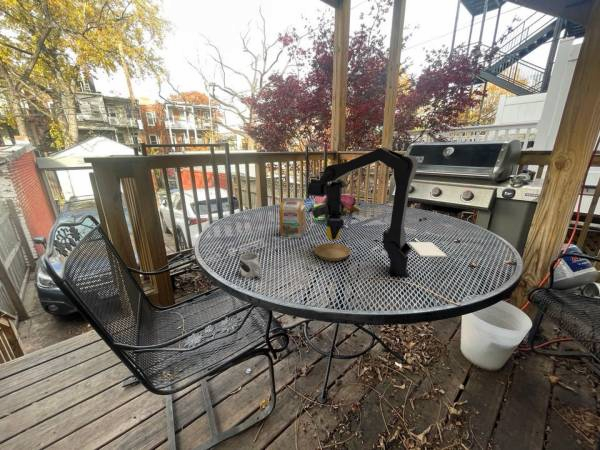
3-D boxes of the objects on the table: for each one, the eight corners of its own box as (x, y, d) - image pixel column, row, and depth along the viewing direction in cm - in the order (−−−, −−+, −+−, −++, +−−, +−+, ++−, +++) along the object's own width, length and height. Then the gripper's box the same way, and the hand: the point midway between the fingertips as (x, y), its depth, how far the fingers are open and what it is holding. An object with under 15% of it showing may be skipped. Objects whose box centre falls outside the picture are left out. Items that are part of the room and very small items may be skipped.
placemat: (446, 257, 100) (446, 255, 100) (420, 256, 101) (420, 255, 101) (431, 243, 113) (431, 242, 113) (408, 243, 114) (408, 242, 114)
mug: (237, 273, 91) (235, 256, 89) (252, 267, 95) (251, 251, 93) (253, 283, 84) (251, 265, 82) (269, 276, 88) (268, 259, 86)
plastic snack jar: (280, 237, 124) (278, 199, 118) (286, 230, 134) (285, 195, 128) (301, 239, 122) (300, 200, 116) (306, 232, 132) (305, 196, 126)
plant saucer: (308, 251, 108) (308, 246, 107) (339, 246, 113) (339, 241, 112) (324, 266, 95) (324, 260, 94) (357, 259, 100) (358, 253, 99)
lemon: (330, 237, 106) (331, 219, 103) (342, 240, 102) (343, 221, 100) (323, 241, 102) (323, 222, 99) (335, 244, 98) (335, 225, 96)
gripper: (312, 193, 106) (313, 229, 111) (312, 204, 88) (312, 245, 93) (339, 193, 105) (338, 228, 110) (344, 203, 87) (343, 245, 92)
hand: (333, 236), depth 101 cm, fingers closed on lemon, 5 cm apart
